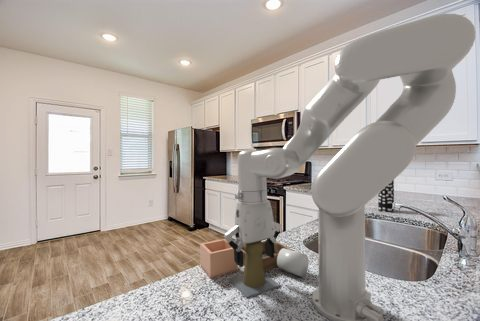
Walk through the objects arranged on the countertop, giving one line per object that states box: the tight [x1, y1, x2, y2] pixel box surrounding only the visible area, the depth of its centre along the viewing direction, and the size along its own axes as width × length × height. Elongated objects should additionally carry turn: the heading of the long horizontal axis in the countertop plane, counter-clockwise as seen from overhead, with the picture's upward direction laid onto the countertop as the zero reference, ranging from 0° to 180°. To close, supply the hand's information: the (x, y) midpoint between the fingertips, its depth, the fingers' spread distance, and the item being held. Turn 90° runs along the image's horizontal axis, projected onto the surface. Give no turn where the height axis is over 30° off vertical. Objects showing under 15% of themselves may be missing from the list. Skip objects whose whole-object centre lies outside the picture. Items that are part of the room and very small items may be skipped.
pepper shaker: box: [243, 241, 265, 288], centre depth 60 cm, size 6×6×11 cm
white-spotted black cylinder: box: [377, 179, 395, 213], centre depth 141 cm, size 8×8×20 cm
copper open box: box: [199, 238, 239, 280], centre depth 68 cm, size 9×9×7 cm
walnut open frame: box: [241, 240, 295, 273], centre depth 73 cm, size 12×15×4 cm
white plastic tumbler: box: [277, 248, 309, 278], centre depth 66 cm, size 7×6×6 cm
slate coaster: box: [228, 272, 281, 299], centre depth 60 cm, size 10×10×1 cm
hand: (255, 260), depth 60 cm, fingers open, 9 cm apart
